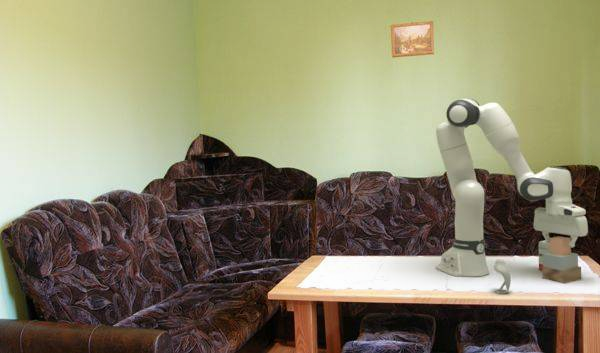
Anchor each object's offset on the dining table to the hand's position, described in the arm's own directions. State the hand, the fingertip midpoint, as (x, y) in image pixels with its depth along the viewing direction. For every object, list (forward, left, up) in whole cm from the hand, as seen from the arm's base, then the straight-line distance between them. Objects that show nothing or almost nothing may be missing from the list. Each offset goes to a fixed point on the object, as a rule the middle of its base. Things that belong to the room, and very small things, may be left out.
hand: (559, 244), depth 184 cm
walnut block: (0, 0, -13) cm, 13 cm away
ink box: (-11, +9, -13) cm, 19 cm away
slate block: (0, 0, -8) cm, 8 cm away
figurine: (-1, -30, -13) cm, 33 cm away
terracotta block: (0, 0, -3) cm, 3 cm away
